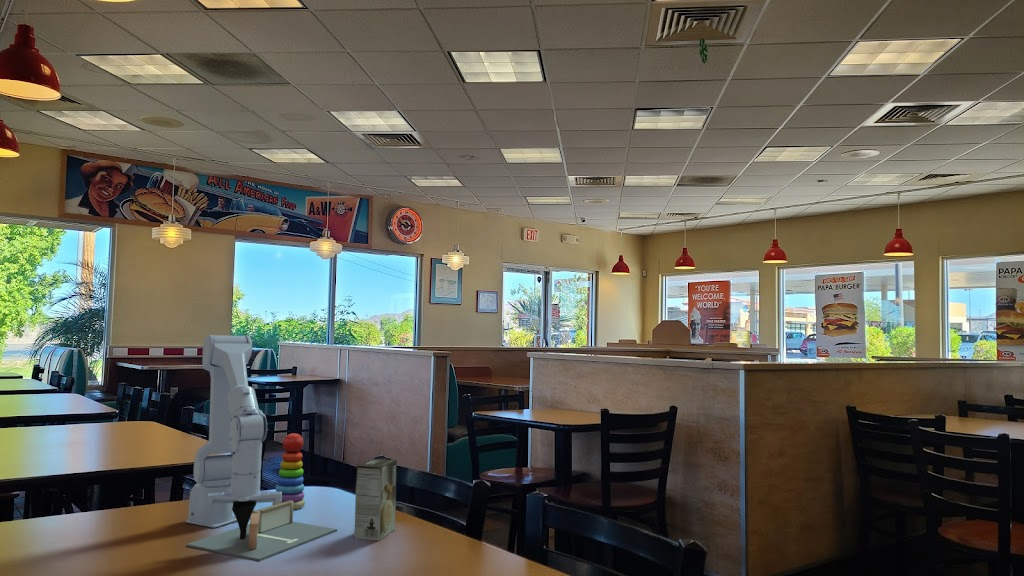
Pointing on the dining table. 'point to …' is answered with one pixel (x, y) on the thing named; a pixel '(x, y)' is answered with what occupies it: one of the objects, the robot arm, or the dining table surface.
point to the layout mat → (262, 540)
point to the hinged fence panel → (253, 531)
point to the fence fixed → (275, 516)
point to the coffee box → (375, 499)
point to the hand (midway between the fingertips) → (243, 538)
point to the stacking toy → (291, 472)
